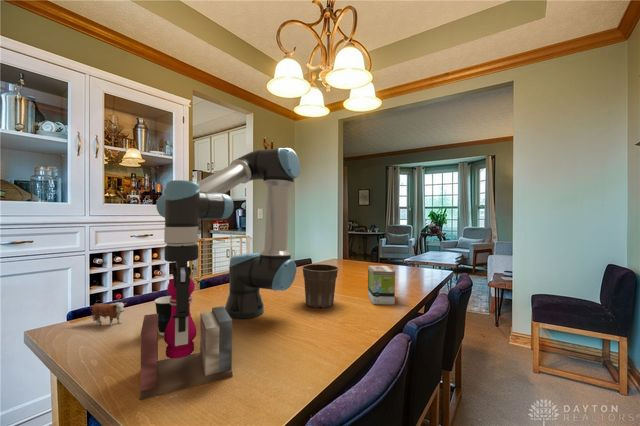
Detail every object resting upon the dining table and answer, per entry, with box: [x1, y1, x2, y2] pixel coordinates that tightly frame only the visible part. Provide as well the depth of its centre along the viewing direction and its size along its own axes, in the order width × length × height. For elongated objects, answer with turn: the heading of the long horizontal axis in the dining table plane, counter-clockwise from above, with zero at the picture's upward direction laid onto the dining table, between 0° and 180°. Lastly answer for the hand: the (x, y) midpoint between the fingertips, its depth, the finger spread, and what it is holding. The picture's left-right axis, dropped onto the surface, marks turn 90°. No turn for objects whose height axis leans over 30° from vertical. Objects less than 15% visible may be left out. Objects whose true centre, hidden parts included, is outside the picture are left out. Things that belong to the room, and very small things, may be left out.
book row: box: [139, 305, 234, 401], centre depth 71 cm, size 19×14×14 cm
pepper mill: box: [163, 277, 198, 359], centre depth 71 cm, size 7×7×20 cm
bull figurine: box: [91, 301, 128, 327], centre depth 101 cm, size 4×13×8 cm, turn 78°
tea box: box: [367, 265, 396, 305], centre depth 133 cm, size 15×10×15 cm, turn 179°
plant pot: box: [301, 263, 340, 309], centre depth 126 cm, size 16×16×16 cm
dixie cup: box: [154, 295, 172, 337], centre depth 95 cm, size 8×8×11 cm
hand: (180, 337), depth 70 cm, fingers closed on pepper mill, 7 cm apart
